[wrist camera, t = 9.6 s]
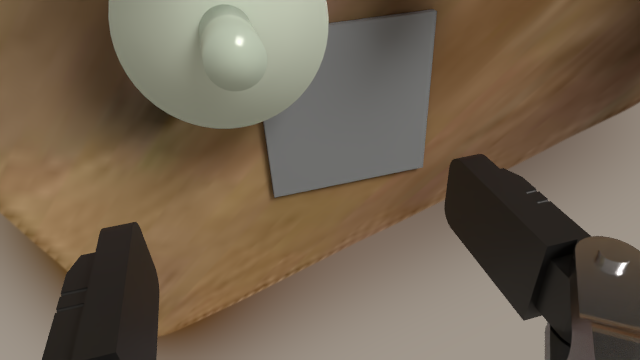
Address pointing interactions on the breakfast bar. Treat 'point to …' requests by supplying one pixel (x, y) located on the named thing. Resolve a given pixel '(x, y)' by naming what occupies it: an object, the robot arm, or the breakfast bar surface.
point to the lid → (220, 55)
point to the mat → (357, 106)
